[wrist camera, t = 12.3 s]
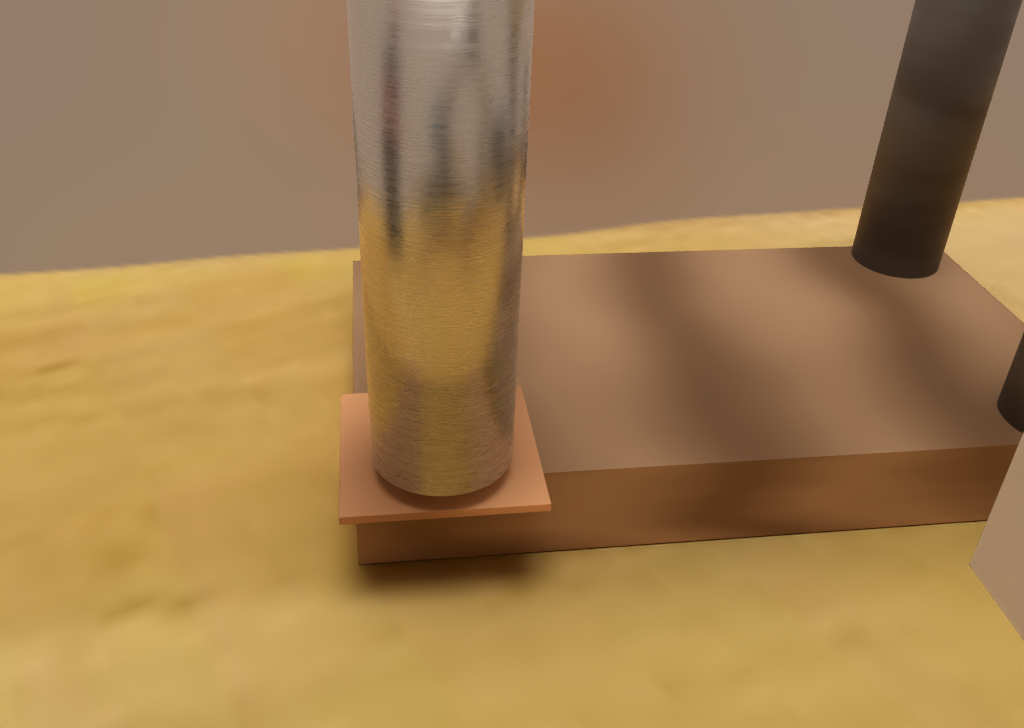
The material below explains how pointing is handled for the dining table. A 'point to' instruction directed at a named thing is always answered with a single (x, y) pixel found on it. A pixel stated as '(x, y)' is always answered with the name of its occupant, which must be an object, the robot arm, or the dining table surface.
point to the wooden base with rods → (751, 366)
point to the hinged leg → (441, 231)
